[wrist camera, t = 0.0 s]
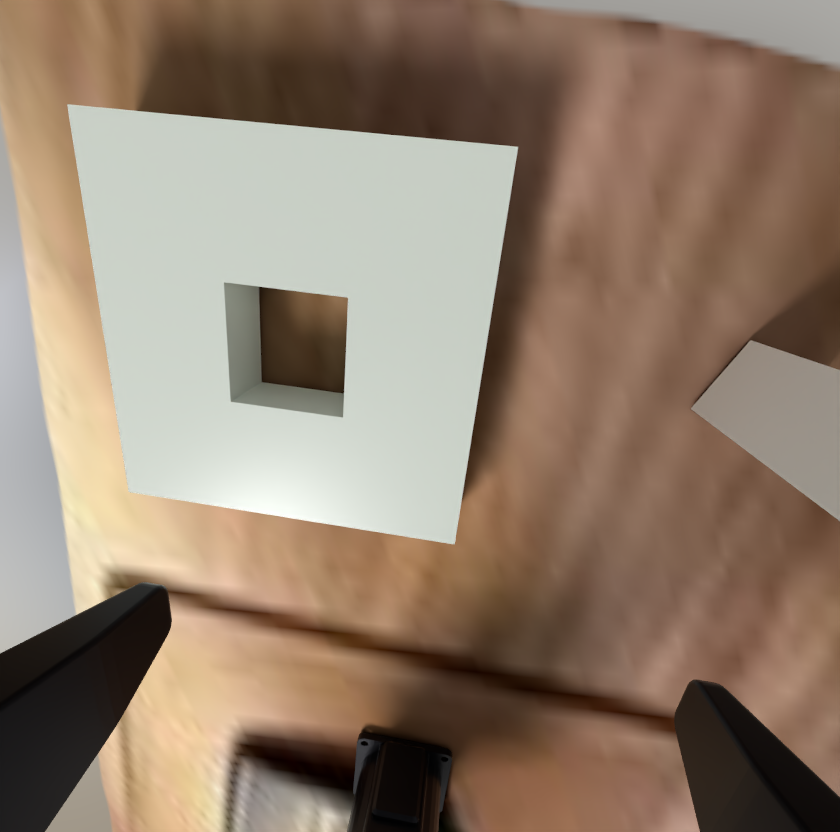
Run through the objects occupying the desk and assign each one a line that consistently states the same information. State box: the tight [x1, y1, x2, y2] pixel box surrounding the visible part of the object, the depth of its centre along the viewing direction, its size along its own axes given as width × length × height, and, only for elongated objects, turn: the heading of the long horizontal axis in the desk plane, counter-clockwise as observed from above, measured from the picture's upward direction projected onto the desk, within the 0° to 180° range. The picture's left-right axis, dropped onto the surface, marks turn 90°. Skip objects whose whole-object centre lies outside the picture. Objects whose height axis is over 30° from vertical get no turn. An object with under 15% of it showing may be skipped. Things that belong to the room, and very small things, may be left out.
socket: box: [67, 104, 518, 544], centre depth 20 cm, size 16×16×3 cm
